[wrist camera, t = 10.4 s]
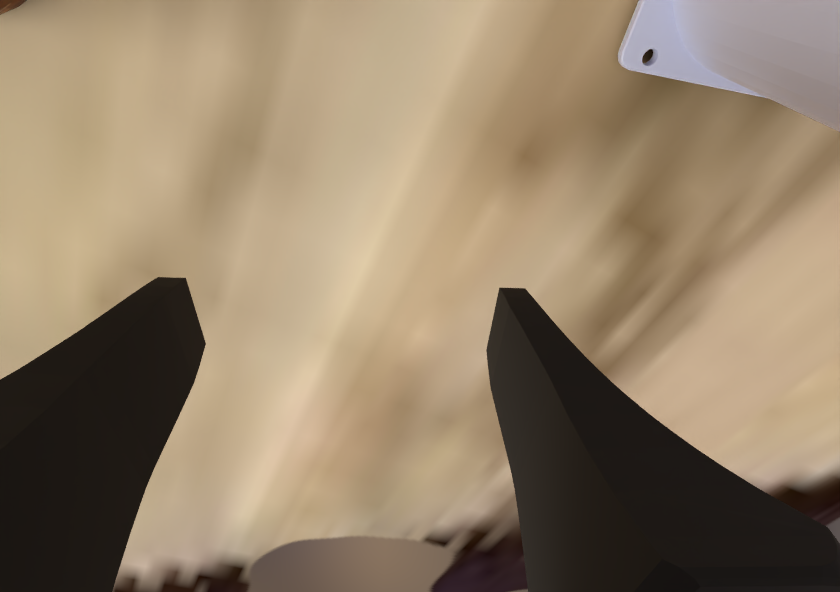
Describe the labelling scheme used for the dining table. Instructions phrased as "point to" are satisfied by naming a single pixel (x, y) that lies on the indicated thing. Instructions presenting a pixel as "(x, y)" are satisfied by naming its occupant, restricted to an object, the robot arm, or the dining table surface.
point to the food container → (9, 5)
